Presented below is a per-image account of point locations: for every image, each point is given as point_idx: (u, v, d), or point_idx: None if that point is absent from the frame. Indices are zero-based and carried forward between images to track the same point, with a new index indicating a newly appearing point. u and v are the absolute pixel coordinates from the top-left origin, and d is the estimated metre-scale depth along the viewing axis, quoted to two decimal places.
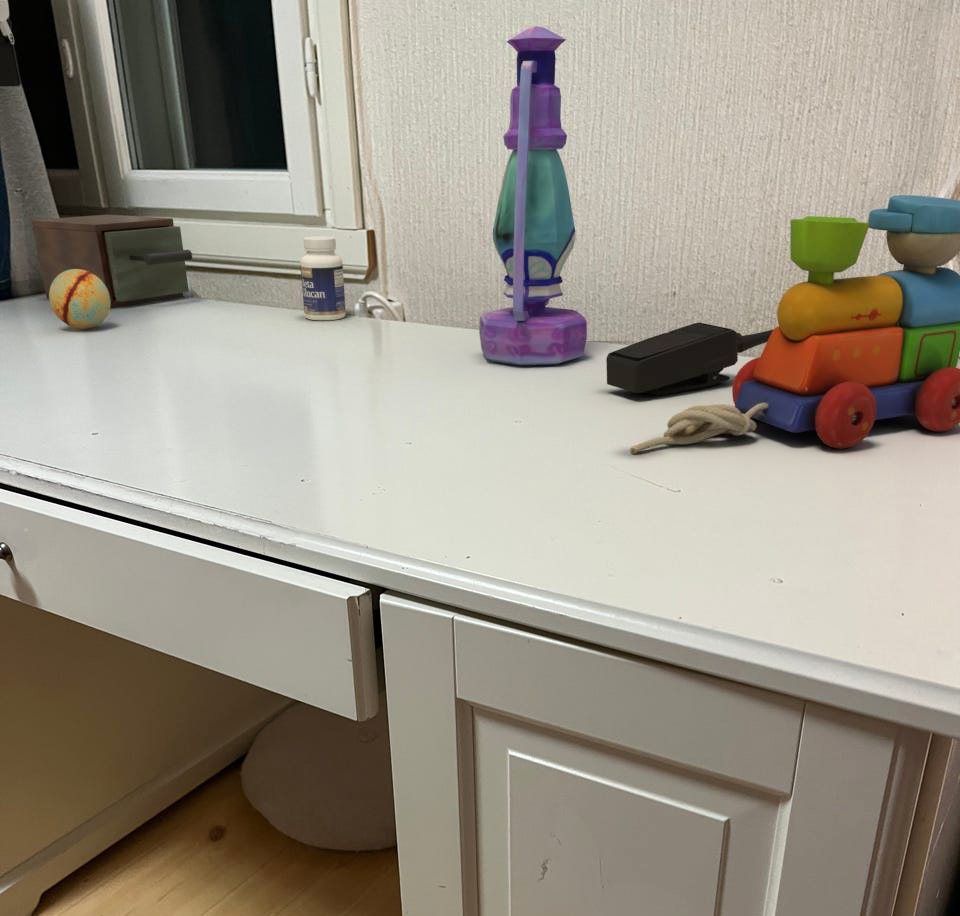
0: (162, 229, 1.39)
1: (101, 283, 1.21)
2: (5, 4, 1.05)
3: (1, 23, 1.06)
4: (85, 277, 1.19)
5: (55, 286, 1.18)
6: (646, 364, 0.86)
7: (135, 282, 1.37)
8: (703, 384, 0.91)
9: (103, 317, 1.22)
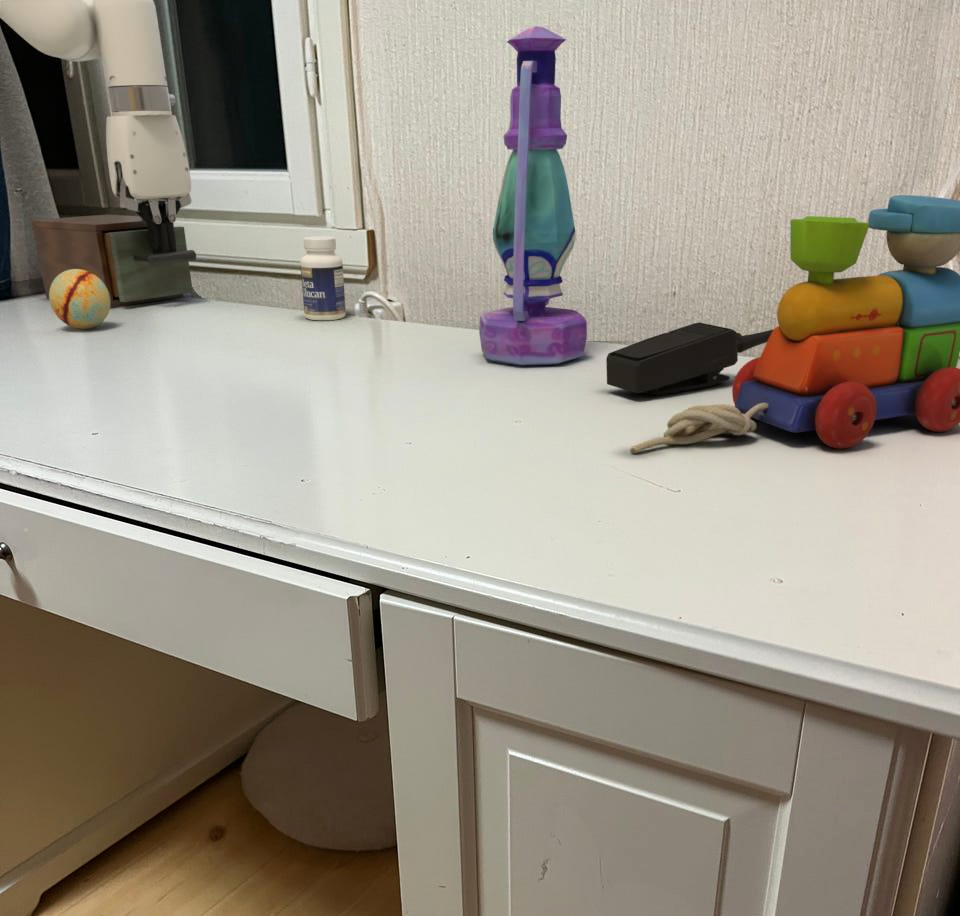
0: None
1: (101, 283, 1.21)
2: (184, 183, 1.34)
3: (167, 200, 1.33)
4: (85, 277, 1.19)
5: (55, 286, 1.18)
6: (646, 364, 0.86)
7: (139, 282, 1.37)
8: (703, 384, 0.91)
9: (103, 317, 1.22)
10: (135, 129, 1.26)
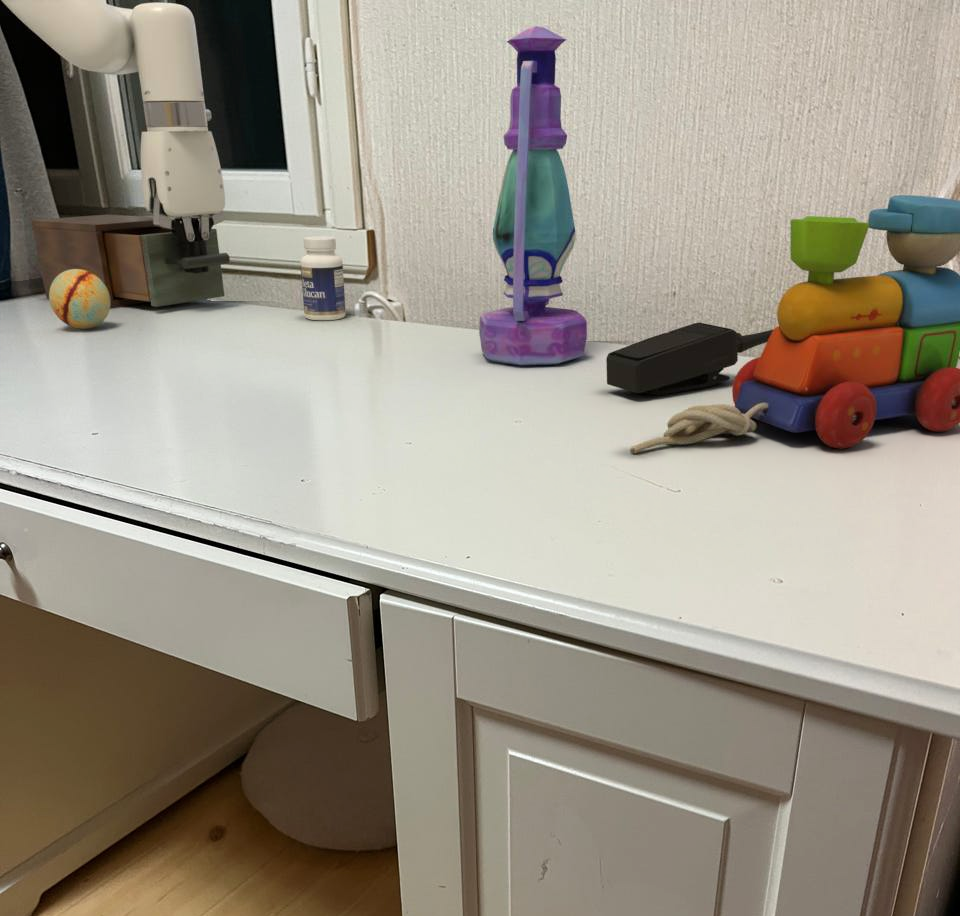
0: None
1: (101, 283, 1.21)
2: (218, 200, 1.31)
3: (200, 217, 1.30)
4: (85, 277, 1.19)
5: (55, 286, 1.18)
6: (646, 364, 0.86)
7: (171, 286, 1.33)
8: (703, 384, 0.91)
9: (103, 317, 1.22)
10: (171, 145, 1.23)
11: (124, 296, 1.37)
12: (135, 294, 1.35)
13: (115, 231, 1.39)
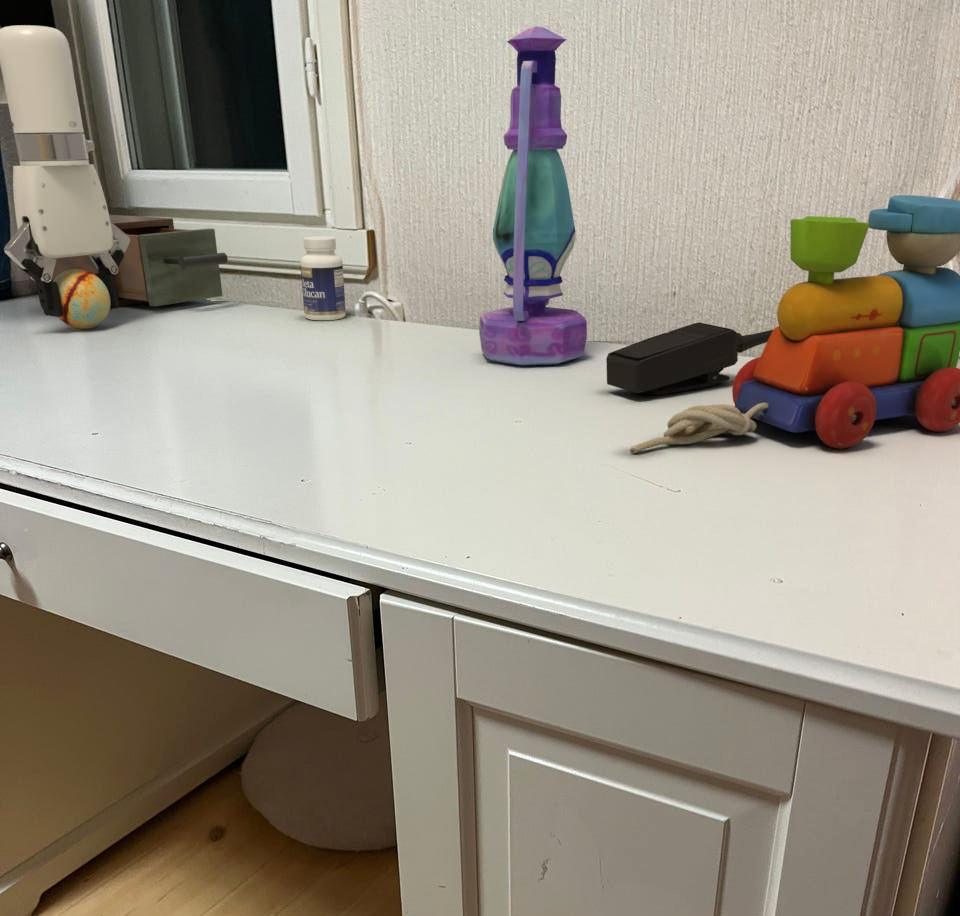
0: (196, 231, 1.34)
1: (101, 283, 1.21)
2: (104, 239, 1.20)
3: (100, 256, 1.21)
4: (85, 277, 1.19)
5: None
6: (646, 364, 0.86)
7: (169, 286, 1.33)
8: (703, 384, 0.91)
9: (103, 317, 1.22)
10: (45, 181, 1.12)
11: (122, 296, 1.37)
12: (134, 293, 1.35)
13: None
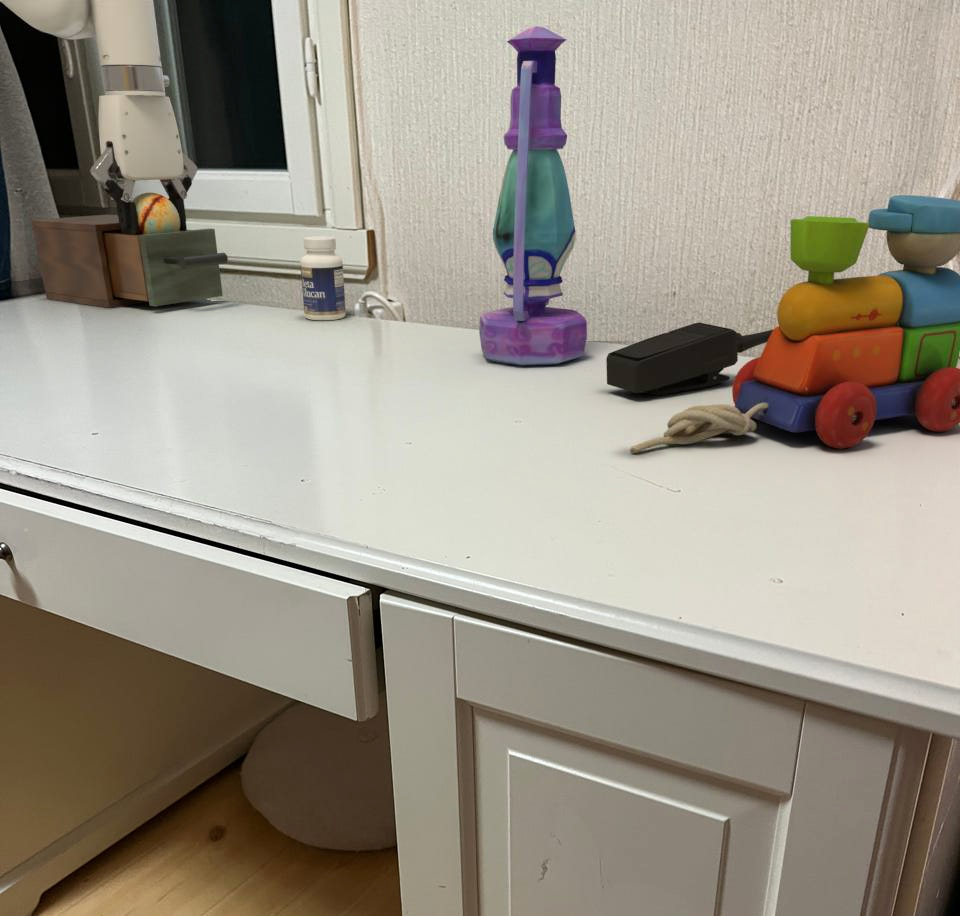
0: (196, 231, 1.34)
1: (173, 206, 1.34)
2: (176, 165, 1.33)
3: (172, 181, 1.34)
4: (159, 199, 1.32)
5: None
6: (646, 364, 0.86)
7: (169, 286, 1.33)
8: (703, 384, 0.91)
9: None
10: (128, 109, 1.25)
11: (122, 296, 1.37)
12: (134, 293, 1.35)
13: (113, 231, 1.39)
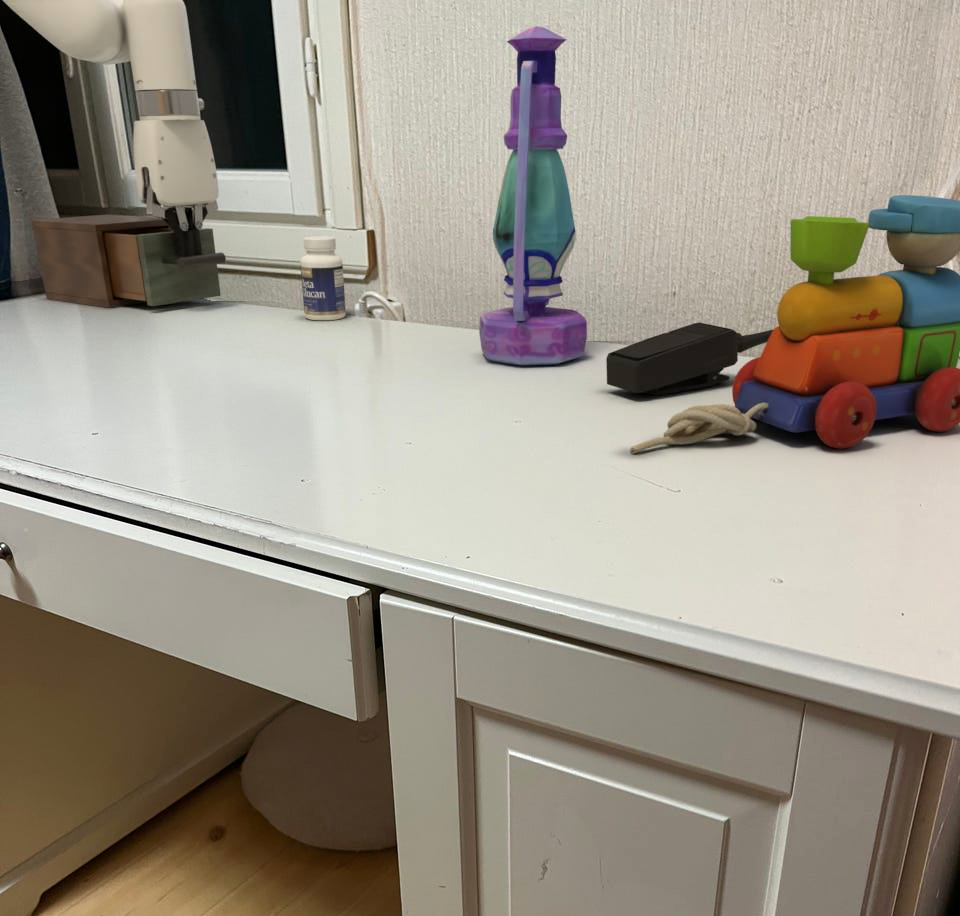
0: None
1: None
2: (212, 189, 1.31)
3: (194, 206, 1.30)
4: None
5: None
6: (646, 364, 0.86)
7: (167, 286, 1.34)
8: (703, 384, 0.91)
9: None
10: (164, 134, 1.23)
11: (120, 296, 1.37)
12: (132, 293, 1.36)
13: (112, 231, 1.40)
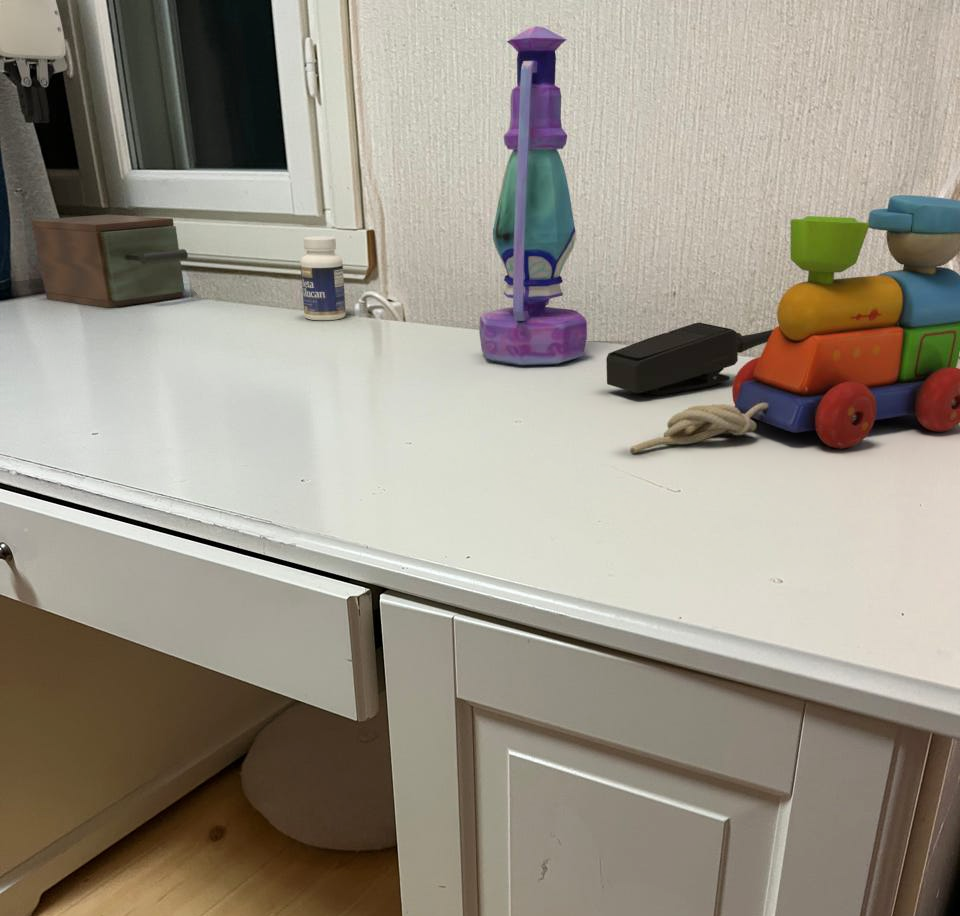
0: (158, 229, 1.39)
1: None
2: (57, 44, 1.25)
3: (37, 62, 1.25)
4: None
5: None
6: (646, 364, 0.86)
7: (131, 281, 1.38)
8: (703, 384, 0.91)
9: None
10: None
11: None
12: None
13: None
